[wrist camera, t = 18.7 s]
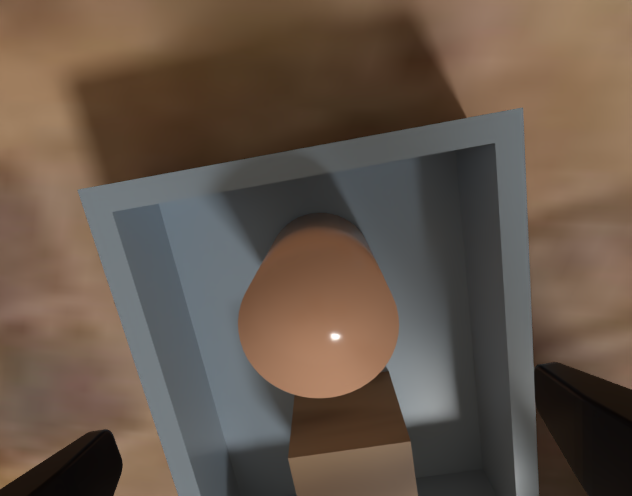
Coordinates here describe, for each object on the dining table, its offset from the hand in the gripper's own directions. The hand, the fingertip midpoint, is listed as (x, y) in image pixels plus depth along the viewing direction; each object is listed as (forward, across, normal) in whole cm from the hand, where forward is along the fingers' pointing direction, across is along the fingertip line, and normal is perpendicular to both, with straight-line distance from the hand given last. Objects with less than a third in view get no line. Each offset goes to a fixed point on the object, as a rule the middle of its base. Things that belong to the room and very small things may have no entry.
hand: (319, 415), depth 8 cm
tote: (+12, 0, +4) cm, 13 cm away
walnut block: (+11, 0, +9) cm, 14 cm away
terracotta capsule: (+11, 0, 0) cm, 11 cm away
